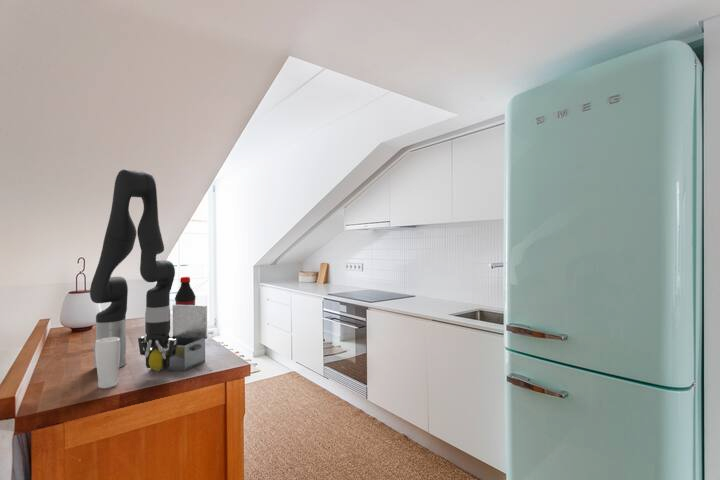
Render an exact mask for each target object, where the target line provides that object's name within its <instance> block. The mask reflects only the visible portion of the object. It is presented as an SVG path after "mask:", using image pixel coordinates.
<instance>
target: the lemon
mask: <svg viewBox="0 0 720 480" xmlns="http://www.w3.org/2000/svg"><path fill="white" fill-rule="evenodd" d="M162 359H163V357H162V354H161V353H160V352H159V350H158V349H156V350H154V351H152V352H151V354H150V356H149V366H150V367H151V368H152V369H151V368H150V369H151V370H153V371H156V372H159V371H161V370H160V369H162Z"/></svg>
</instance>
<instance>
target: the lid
mask: <svg viewBox="0 0 720 480" xmlns="http://www.w3.org/2000/svg"><path fill="white" fill-rule="evenodd" d="M172 336H180V337H198V338H205V340H207V339H208V306H207V305H196V304H195V305H176V304H172Z"/></svg>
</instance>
